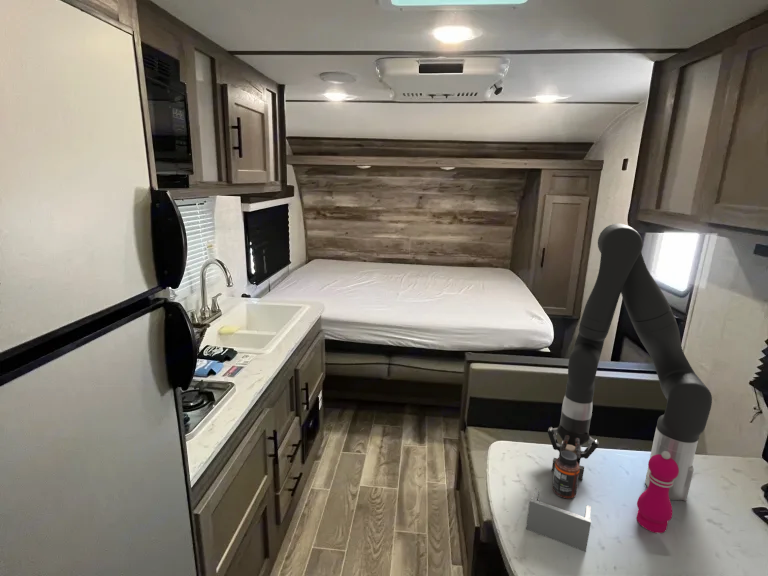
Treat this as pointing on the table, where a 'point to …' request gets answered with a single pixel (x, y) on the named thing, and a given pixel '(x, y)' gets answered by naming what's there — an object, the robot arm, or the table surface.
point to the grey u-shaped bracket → (558, 523)
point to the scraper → (573, 449)
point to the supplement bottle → (566, 475)
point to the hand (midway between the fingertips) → (568, 464)
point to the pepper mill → (657, 494)
